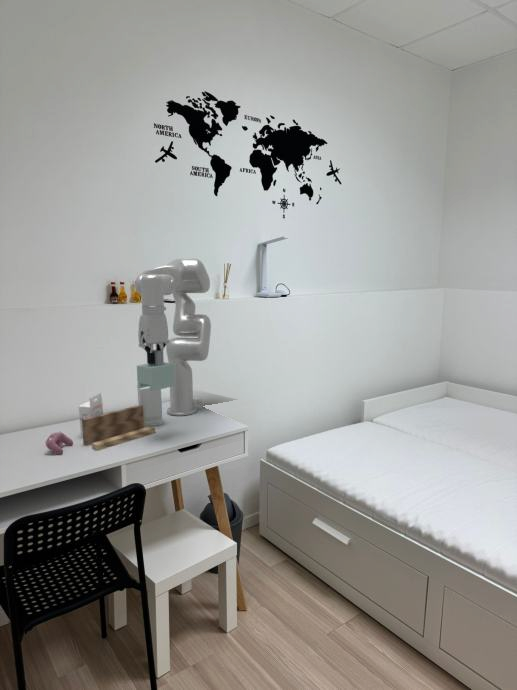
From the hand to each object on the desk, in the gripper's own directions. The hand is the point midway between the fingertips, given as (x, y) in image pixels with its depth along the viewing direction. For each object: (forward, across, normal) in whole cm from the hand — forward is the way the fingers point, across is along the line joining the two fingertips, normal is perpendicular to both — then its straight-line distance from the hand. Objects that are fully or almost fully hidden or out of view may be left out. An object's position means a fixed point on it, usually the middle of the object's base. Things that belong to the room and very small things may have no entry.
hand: (155, 362), depth 176 cm
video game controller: (+28, +29, -16) cm, 43 cm away
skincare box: (+27, -8, -14) cm, 32 cm away
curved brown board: (+27, +9, -10) cm, 30 cm away
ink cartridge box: (+28, +13, -22) cm, 37 cm away
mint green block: (+9, 0, 0) cm, 9 cm away
